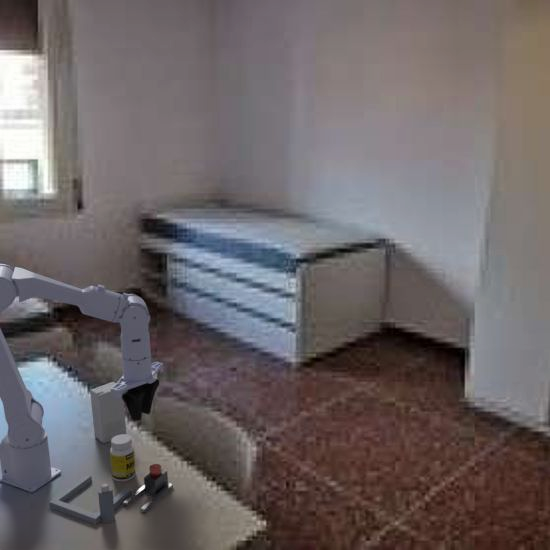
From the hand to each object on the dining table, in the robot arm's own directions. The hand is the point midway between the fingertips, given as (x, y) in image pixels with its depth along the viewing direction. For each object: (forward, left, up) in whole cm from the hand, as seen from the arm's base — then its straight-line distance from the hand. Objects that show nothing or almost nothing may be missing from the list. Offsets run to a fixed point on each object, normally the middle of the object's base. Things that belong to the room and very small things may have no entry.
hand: (140, 415), depth 140 cm
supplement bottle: (0, -7, -11) cm, 12 cm away
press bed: (+1, -16, -10) cm, 19 cm away
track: (+9, -10, -10) cm, 17 cm away
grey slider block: (+9, -8, -10) cm, 16 cm away
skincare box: (-13, +4, -11) cm, 17 cm away
